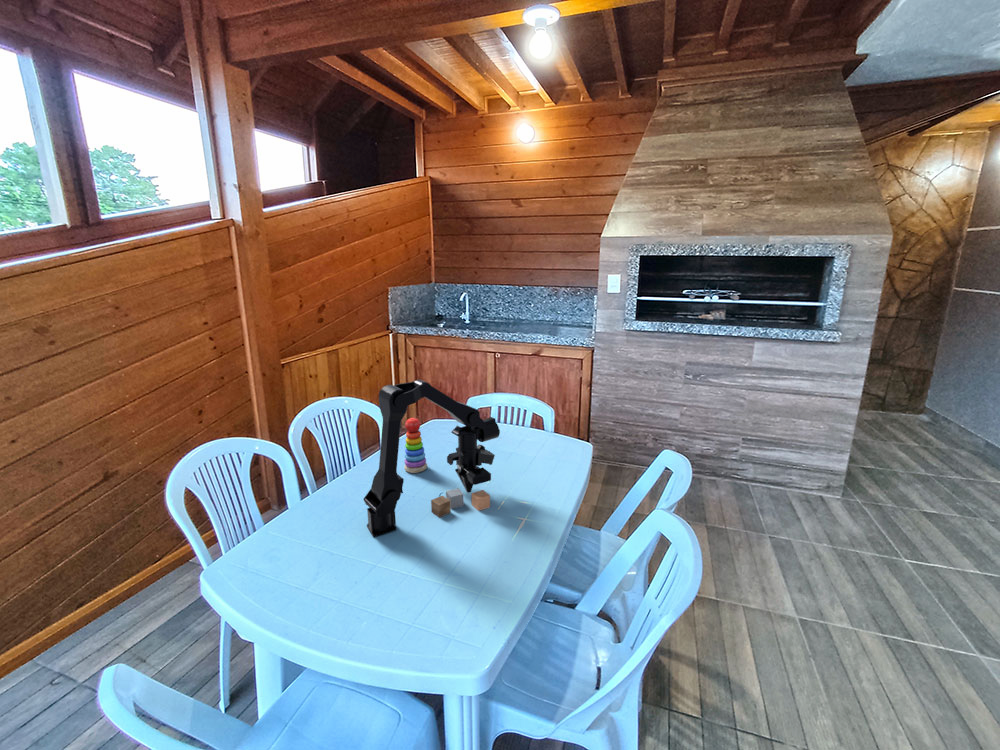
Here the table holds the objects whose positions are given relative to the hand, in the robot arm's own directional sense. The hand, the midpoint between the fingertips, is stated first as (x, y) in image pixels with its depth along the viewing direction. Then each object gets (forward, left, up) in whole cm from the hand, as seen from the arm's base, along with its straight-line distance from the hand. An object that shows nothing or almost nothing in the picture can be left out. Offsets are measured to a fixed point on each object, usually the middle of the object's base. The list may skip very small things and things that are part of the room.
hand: (468, 492), depth 148 cm
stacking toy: (-7, +27, -2) cm, 28 cm away
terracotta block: (0, -7, -1) cm, 8 cm away
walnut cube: (-12, -4, -1) cm, 12 cm away
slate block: (-6, -2, -1) cm, 7 cm away
